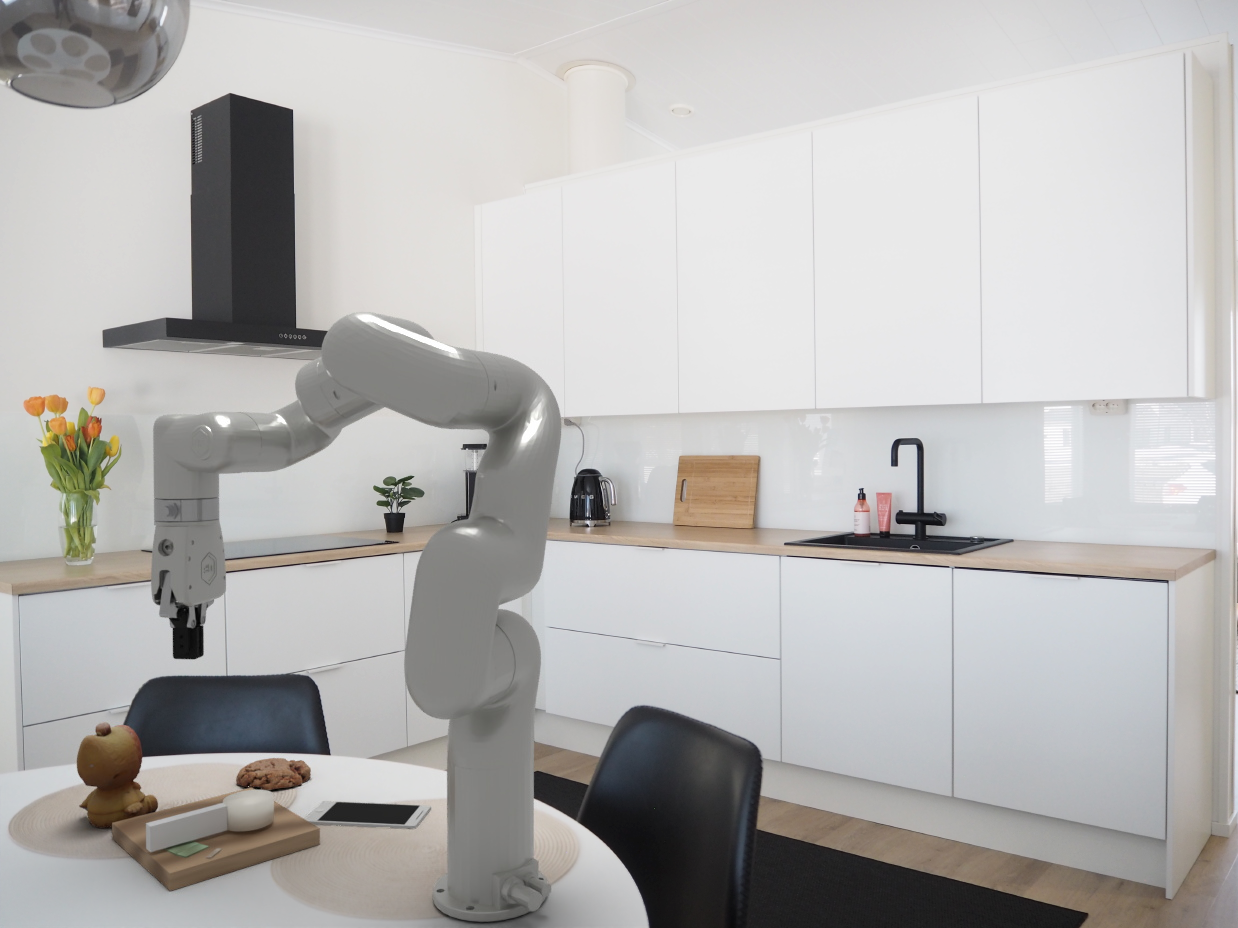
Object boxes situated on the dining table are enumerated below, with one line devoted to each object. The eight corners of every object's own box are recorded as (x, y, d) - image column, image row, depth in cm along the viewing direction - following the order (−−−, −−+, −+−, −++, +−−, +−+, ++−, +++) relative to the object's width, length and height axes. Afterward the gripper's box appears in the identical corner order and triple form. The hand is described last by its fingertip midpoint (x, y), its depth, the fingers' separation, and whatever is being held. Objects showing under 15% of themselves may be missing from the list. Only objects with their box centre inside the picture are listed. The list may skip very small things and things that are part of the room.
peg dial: (261, 808, 125) (261, 785, 125) (282, 821, 121) (282, 797, 121) (139, 842, 114) (139, 817, 114) (157, 857, 110) (157, 832, 110)
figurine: (172, 809, 131) (152, 711, 127) (132, 844, 124) (109, 741, 120) (112, 802, 134) (91, 706, 130) (70, 835, 127) (46, 735, 123)
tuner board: (319, 843, 120) (319, 826, 120) (170, 890, 107) (169, 871, 107) (251, 801, 134) (251, 785, 134) (112, 838, 122) (112, 821, 122)
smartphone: (323, 806, 134) (323, 799, 134) (431, 811, 132) (431, 804, 132) (301, 827, 126) (301, 819, 126) (415, 832, 125) (415, 825, 125)
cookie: (242, 773, 147) (242, 754, 147) (314, 768, 149) (314, 749, 149) (229, 797, 137) (229, 776, 137) (307, 791, 139) (307, 770, 139)
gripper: (182, 517, 113) (184, 672, 113) (244, 508, 128) (245, 645, 128) (122, 516, 114) (124, 671, 114) (190, 508, 129) (191, 644, 129)
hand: (188, 657), depth 121 cm, fingers closed
